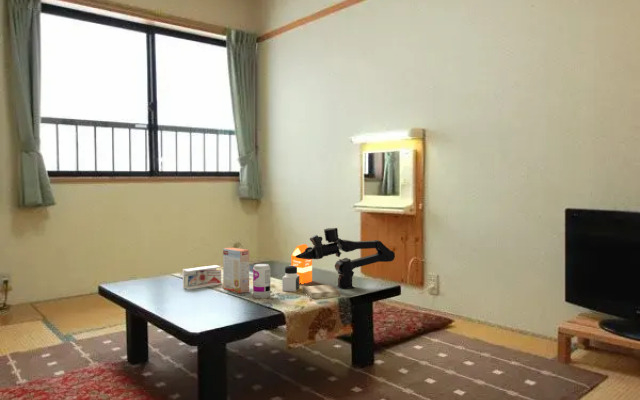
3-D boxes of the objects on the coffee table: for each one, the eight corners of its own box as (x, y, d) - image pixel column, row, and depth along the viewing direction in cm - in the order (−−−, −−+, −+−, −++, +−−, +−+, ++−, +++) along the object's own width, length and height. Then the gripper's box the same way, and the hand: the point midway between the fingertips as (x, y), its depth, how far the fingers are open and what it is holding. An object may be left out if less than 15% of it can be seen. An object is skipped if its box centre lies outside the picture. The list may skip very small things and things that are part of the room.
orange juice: (312, 281, 268) (312, 244, 267) (303, 284, 260) (303, 246, 259) (300, 279, 272) (300, 243, 271) (291, 282, 265) (291, 245, 264)
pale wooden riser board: (328, 289, 248) (328, 284, 248) (339, 296, 235) (339, 290, 235) (302, 291, 243) (302, 286, 243) (312, 298, 230) (312, 293, 230)
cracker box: (250, 291, 243) (249, 249, 242) (240, 293, 239) (239, 251, 238) (232, 287, 253) (232, 246, 252) (222, 289, 248) (222, 247, 247)
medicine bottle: (296, 291, 243) (296, 267, 243) (282, 291, 245) (282, 267, 244) (299, 288, 250) (299, 265, 250) (286, 287, 252) (286, 264, 251)
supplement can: (256, 299, 228) (256, 267, 228) (250, 295, 236) (250, 264, 235) (273, 297, 232) (272, 265, 231) (266, 293, 239) (266, 262, 239)
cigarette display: (187, 289, 248) (187, 271, 247) (182, 287, 252) (182, 269, 252) (223, 283, 261) (222, 266, 261) (217, 282, 265) (217, 264, 265)
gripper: (318, 235, 258) (290, 241, 253) (329, 232, 241) (299, 239, 236) (322, 256, 258) (294, 262, 253) (334, 255, 240) (304, 262, 235)
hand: (298, 256), depth 244 cm, fingers open, 9 cm apart
